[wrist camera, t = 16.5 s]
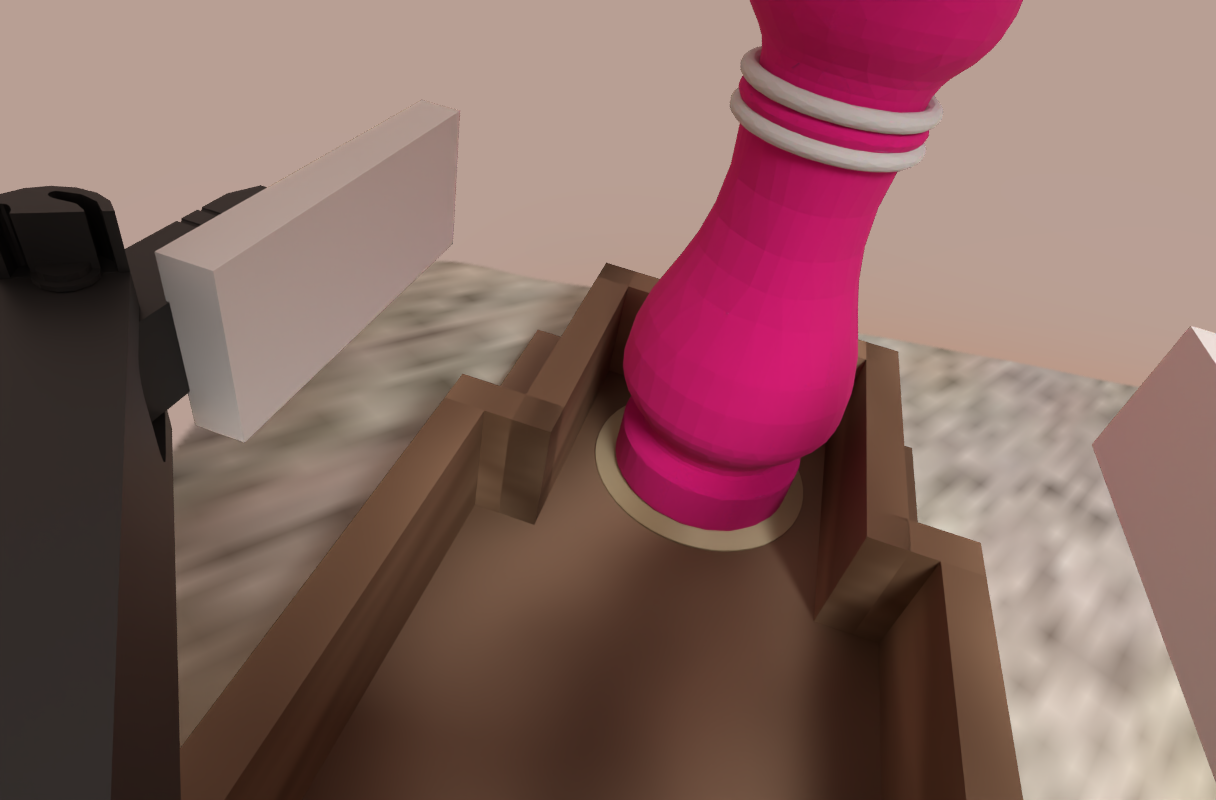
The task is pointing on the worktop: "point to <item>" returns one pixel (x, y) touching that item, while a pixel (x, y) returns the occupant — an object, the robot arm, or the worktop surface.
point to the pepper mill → (785, 252)
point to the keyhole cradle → (621, 620)
